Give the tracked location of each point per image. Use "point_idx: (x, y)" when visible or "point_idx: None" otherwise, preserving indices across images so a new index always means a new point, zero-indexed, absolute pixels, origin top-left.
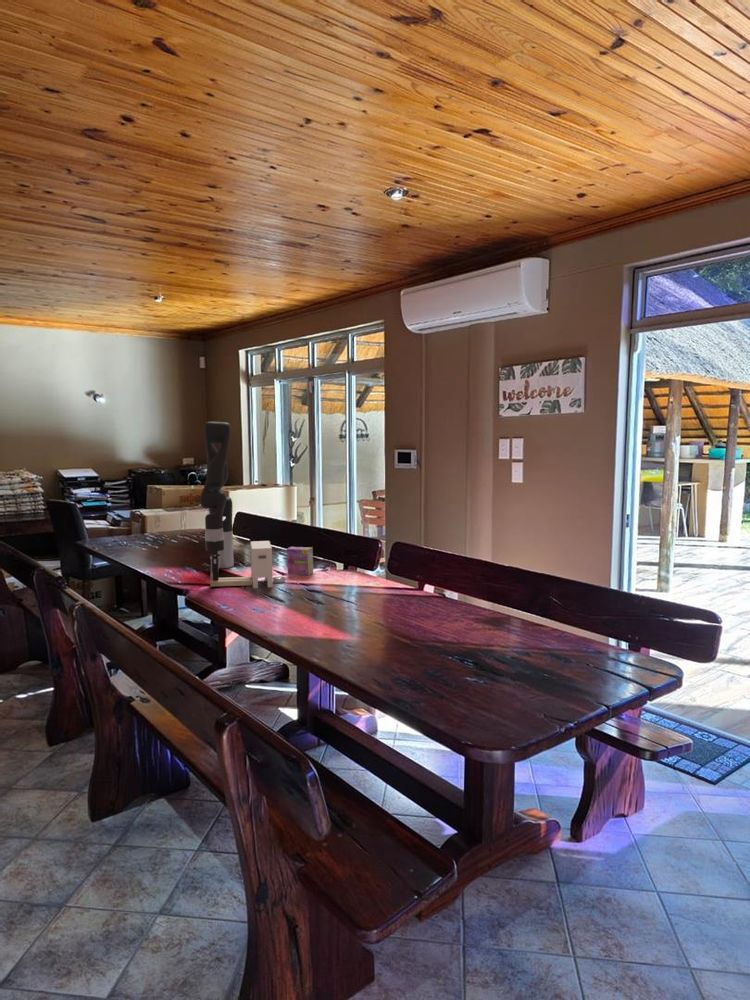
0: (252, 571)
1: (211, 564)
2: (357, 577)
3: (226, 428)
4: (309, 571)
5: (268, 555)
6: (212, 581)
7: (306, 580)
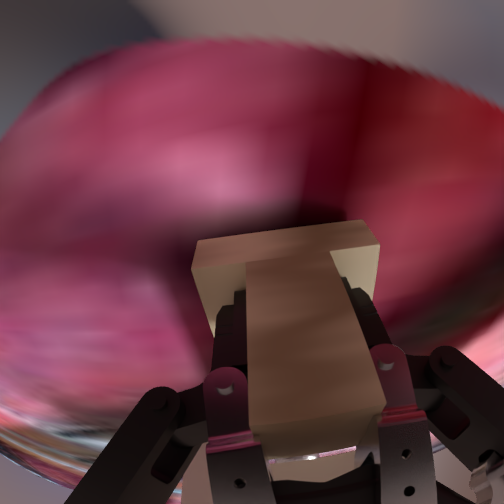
0: (208, 489)
1: (211, 471)
2: None
3: None
4: None
5: None
6: (203, 285)
7: None
